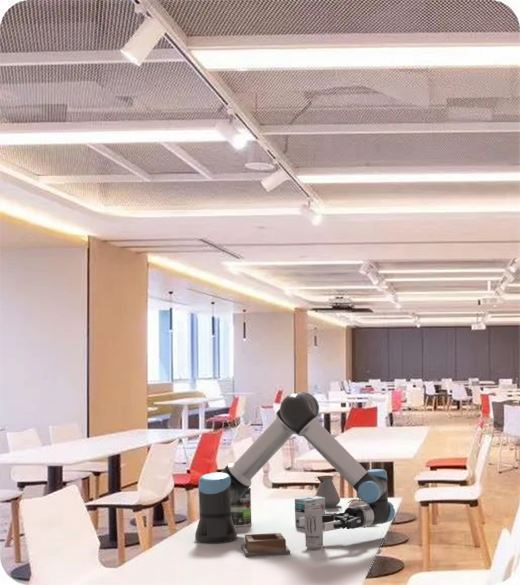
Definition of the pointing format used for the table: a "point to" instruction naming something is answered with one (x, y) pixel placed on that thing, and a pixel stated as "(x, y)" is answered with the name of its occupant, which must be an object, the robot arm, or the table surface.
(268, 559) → the table surface
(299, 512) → the light bulb box
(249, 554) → the brown wooden open box
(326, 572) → the table surface
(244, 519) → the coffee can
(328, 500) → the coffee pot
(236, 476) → the robot arm
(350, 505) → the decorative fruit
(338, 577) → the table surface
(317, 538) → the energy drink can
